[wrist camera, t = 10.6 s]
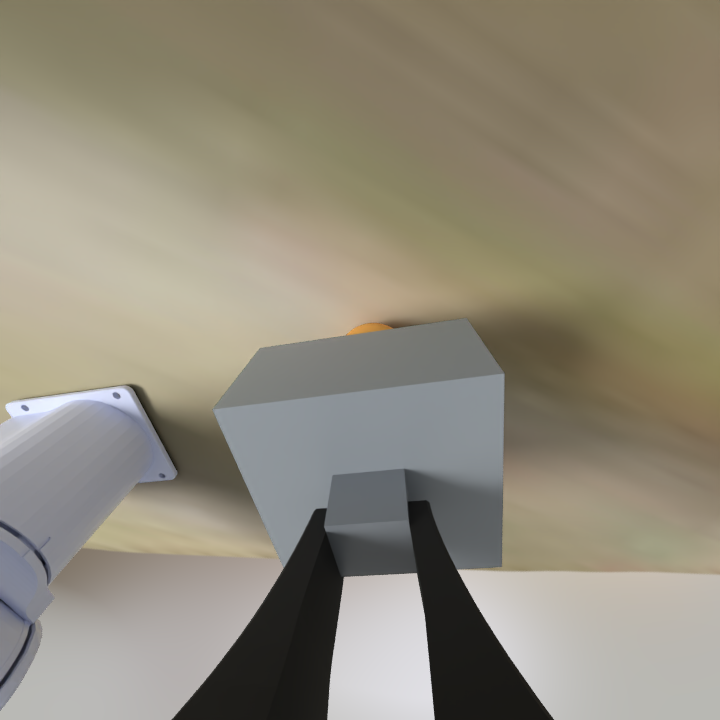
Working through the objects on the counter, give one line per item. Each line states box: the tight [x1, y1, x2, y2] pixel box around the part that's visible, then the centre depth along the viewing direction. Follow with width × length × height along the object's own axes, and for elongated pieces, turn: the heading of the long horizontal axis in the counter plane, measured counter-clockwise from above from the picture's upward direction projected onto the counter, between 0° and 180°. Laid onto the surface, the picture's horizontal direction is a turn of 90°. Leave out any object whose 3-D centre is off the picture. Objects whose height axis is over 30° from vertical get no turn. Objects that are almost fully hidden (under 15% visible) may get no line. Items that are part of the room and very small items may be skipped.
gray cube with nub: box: [212, 318, 504, 577], centre depth 13 cm, size 9×9×7 cm
